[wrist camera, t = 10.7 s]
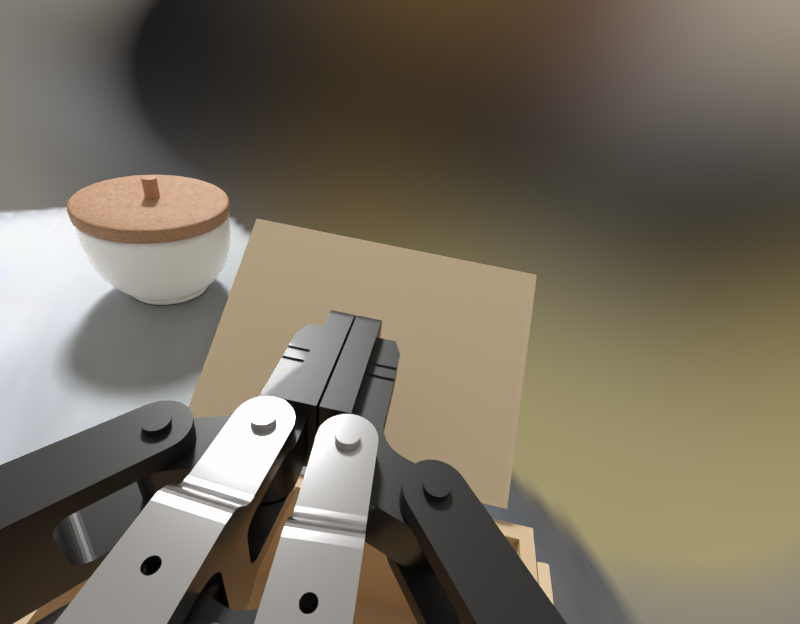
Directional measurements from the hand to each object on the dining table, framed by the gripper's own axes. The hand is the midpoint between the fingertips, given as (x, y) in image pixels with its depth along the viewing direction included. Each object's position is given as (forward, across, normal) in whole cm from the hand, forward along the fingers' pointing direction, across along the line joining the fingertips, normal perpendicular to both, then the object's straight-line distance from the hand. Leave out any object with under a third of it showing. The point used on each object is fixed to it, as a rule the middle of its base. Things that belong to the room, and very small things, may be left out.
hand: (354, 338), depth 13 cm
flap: (-1, 0, +6) cm, 6 cm away
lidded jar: (+19, +20, +14) cm, 31 cm away
